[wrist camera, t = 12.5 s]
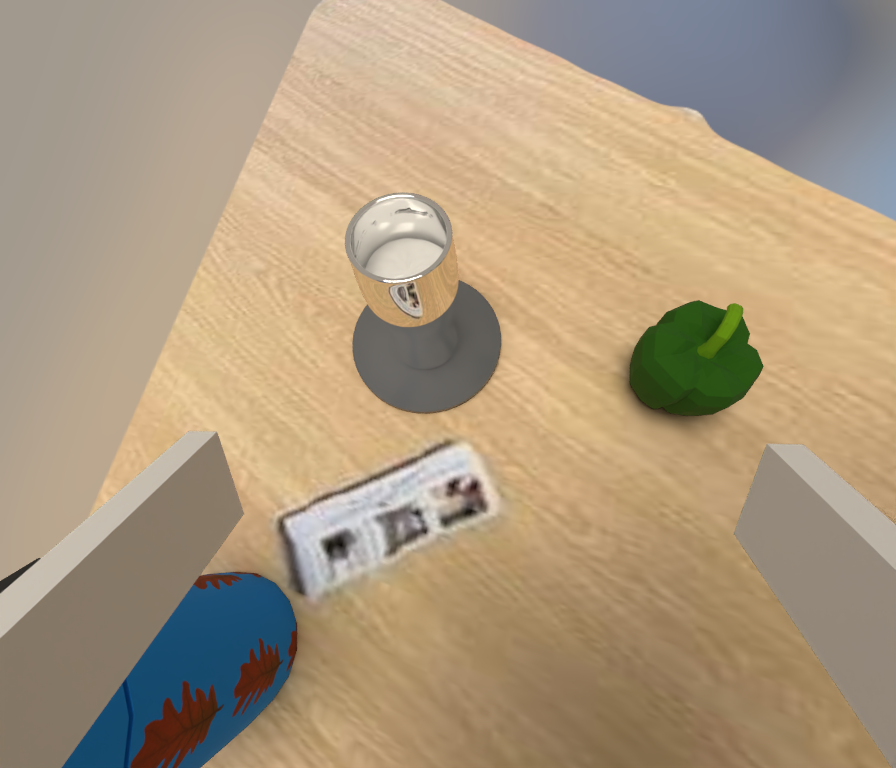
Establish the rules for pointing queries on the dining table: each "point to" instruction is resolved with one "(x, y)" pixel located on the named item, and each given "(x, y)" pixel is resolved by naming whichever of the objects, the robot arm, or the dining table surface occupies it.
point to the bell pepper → (695, 360)
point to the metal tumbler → (408, 274)
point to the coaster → (437, 384)
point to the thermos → (197, 678)
